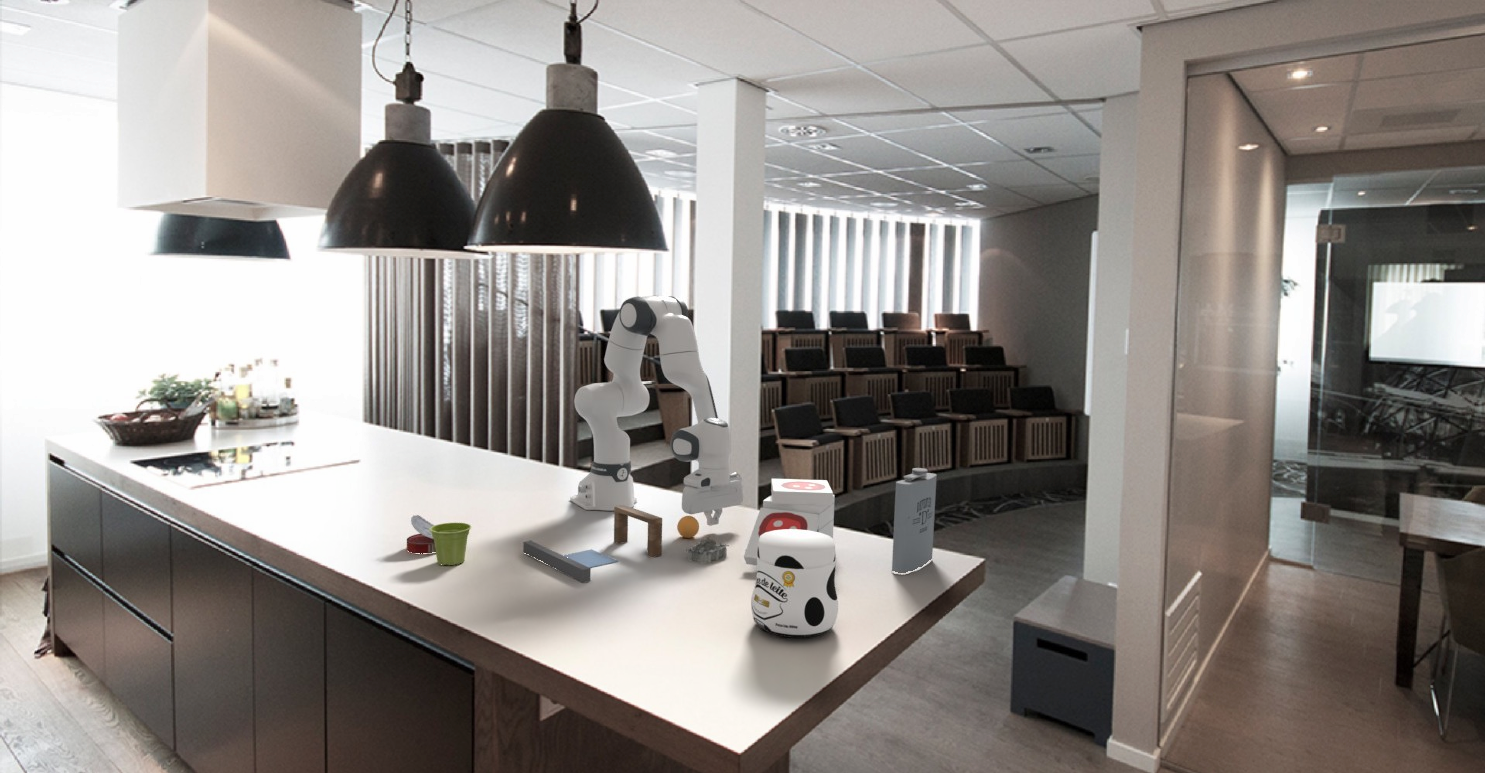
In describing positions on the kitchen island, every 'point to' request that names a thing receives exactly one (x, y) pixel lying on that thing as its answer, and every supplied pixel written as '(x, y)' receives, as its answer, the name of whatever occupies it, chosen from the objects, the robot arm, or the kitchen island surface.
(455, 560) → the plant pot
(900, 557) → the flask
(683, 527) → the ball
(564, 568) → the stopper wall
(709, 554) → the egg carton
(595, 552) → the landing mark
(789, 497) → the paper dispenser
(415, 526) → the canned food
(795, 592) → the milk container
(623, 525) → the bridge
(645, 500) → the kitchen island surface
